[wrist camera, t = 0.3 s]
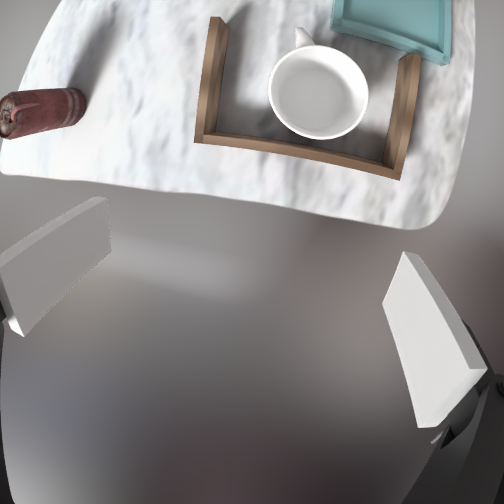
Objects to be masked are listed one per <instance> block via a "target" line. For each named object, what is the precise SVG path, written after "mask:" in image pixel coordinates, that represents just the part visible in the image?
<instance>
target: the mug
mask: <svg viewBox="0 0 504 504" xmlns="http://www.w3.org/2000/svg"><path fill="white" fill-rule="evenodd" d="M268 93H269V99H270V102H271V106H272V108H273V110H274V112H275V113H276V115H277V117H278V118H279V119H280V120H281V122H282V123H284V124H285V125H286V126H287V127H288V128H289V129H291V130H292V131H294V132H296V133H297V134H300V135H302V136H305V137H308V138H312V139H322V140H323V139H332V138H336V137H339V136H342V135H344V134H346V133H348V132H350V131H351V130H352V129H354V128H355V127H356V126H357V125H358V124H359V122H360V121H361V120H362V118H363V117H364V115H365V113H366V110H367V107H368V102H369V90H368V84H367V81H366V78H365V76H364V74H363V72H362V71H361V69H360V68H359V66H358V65H357V64H356V63H355V62H354V61H353V60H352V59H351V58H350V57H349V56H347V55H346V54H344V53H343V52H341V51H339V50H337V49H334V48H331V47H327V46H322V45H315V43H314V42H313V40H312V39H311V37H310V36H309V34H308V33H307V32H306V31H305V30H304V29H303V28H302V27H297V28H296V49H294V50H292V51H290V52H289V53H287V54H286V55H284V56H283V57H282V58H281V59H280V60H279V61H278V63H277V64H276V65H275V67H274V69H273V71H272V73H271V75H270V79H269V86H268Z"/></svg>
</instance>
